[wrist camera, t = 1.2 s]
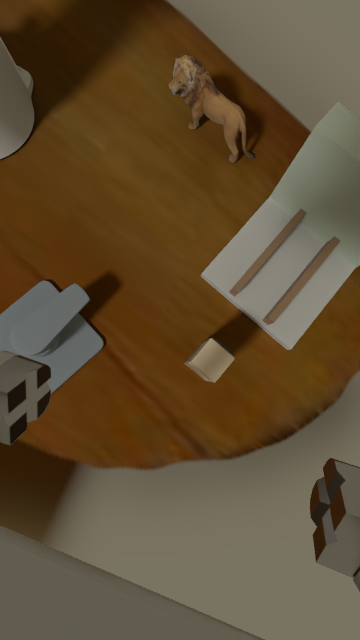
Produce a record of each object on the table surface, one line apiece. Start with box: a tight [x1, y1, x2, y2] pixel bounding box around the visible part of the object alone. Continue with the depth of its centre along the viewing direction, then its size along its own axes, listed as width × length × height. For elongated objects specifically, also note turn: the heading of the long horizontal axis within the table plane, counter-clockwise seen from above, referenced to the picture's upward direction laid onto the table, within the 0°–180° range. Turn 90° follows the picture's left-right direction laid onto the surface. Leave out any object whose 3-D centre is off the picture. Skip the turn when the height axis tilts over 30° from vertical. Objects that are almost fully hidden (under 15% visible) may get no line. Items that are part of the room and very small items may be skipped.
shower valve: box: [0, 281, 104, 394], centre depth 41 cm, size 12×6×15 cm
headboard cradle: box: [201, 102, 360, 350], centre depth 40 cm, size 16×20×15 cm
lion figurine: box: [169, 55, 254, 163], centre depth 45 cm, size 15×5×9 cm, turn 57°
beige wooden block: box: [185, 338, 235, 382], centre depth 40 cm, size 4×4×8 cm
